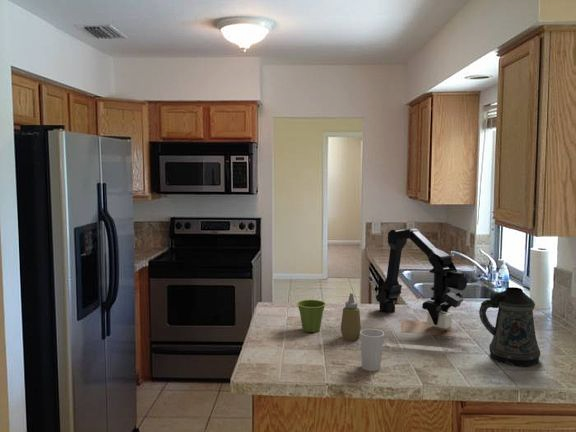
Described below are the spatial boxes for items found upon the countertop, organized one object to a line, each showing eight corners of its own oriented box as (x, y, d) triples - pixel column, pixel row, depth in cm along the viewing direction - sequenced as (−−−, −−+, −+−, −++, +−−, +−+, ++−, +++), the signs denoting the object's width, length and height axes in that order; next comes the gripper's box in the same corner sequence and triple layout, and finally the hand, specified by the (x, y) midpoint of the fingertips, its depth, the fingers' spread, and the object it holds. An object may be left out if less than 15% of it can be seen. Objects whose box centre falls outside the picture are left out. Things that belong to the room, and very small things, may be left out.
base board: (400, 335, 199) (400, 332, 199) (401, 323, 214) (401, 320, 214) (453, 340, 194) (453, 336, 194) (450, 327, 210) (450, 323, 209)
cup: (356, 362, 172) (357, 329, 171) (379, 362, 173) (380, 328, 171) (362, 372, 164) (363, 337, 163) (386, 371, 165) (386, 336, 163)
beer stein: (551, 364, 171) (555, 293, 169) (503, 371, 166) (507, 297, 163) (516, 347, 187) (519, 282, 184) (471, 352, 182) (474, 285, 179)
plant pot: (329, 327, 209) (329, 301, 207) (319, 336, 198) (319, 308, 197) (303, 323, 213) (303, 298, 212) (292, 332, 203) (292, 305, 202)
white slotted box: (445, 328, 198) (445, 315, 197) (427, 324, 203) (427, 311, 203) (451, 325, 202) (452, 312, 202) (434, 320, 208) (434, 308, 207)
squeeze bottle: (362, 336, 198) (363, 291, 196) (358, 343, 191) (359, 297, 189) (342, 334, 201) (343, 290, 199) (338, 340, 193) (338, 295, 191)
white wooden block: (442, 330, 201) (443, 323, 200) (432, 328, 204) (433, 321, 203) (445, 329, 202) (446, 322, 202) (435, 327, 205) (435, 319, 205)
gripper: (448, 293, 189) (447, 333, 190) (470, 284, 202) (468, 322, 204) (422, 288, 197) (420, 326, 198) (444, 280, 210) (443, 316, 212)
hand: (439, 322), depth 203 cm, fingers closed on white slotted box, 6 cm apart
